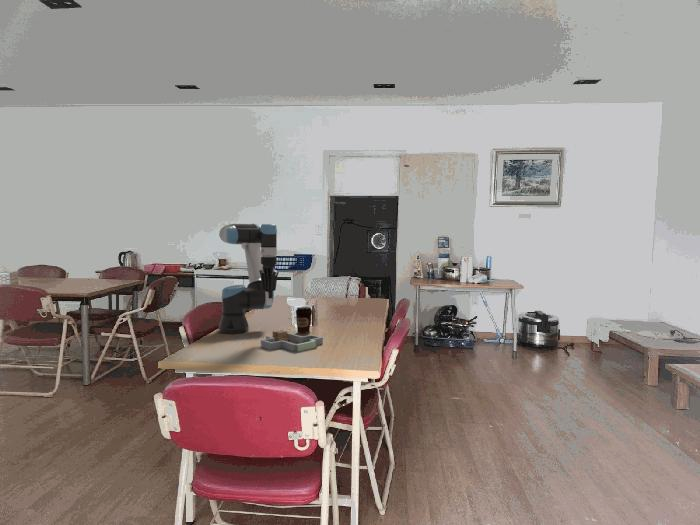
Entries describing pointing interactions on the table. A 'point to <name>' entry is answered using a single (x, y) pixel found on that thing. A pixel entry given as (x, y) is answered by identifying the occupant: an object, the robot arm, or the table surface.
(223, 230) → the robot arm
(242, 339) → the table surface
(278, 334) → the walnut block
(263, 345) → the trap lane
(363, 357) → the table surface
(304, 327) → the coffee cup
